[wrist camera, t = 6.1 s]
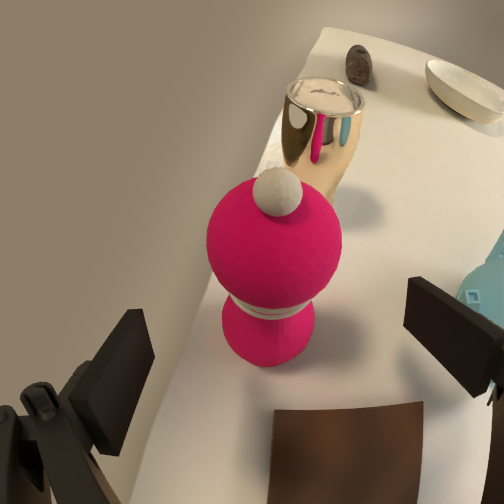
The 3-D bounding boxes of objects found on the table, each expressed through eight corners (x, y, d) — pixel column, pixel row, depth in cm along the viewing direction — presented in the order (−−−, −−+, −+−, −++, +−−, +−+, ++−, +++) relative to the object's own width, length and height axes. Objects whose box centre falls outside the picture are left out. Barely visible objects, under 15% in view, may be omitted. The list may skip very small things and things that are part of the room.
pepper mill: (250, 286, 30) (237, 100, 12) (318, 316, 28) (396, 151, 11) (213, 350, 26) (129, 215, 9) (285, 385, 25) (347, 314, 7)
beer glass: (324, 240, 32) (357, 127, 19) (266, 216, 34) (269, 100, 21) (343, 197, 35) (373, 90, 22) (291, 177, 37) (301, 69, 24)
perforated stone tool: (344, 60, 57) (348, 35, 51) (366, 65, 56) (371, 40, 50) (342, 86, 50) (347, 55, 44) (368, 92, 49) (375, 62, 43)
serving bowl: (507, 148, 43) (520, 125, 37) (428, 114, 46) (439, 86, 40) (480, 100, 53) (489, 80, 47) (412, 73, 56) (418, 50, 50)
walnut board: (262, 544, 17) (262, 548, 16) (273, 409, 24) (274, 409, 23) (408, 527, 16) (412, 530, 15) (418, 401, 23) (423, 400, 22)
